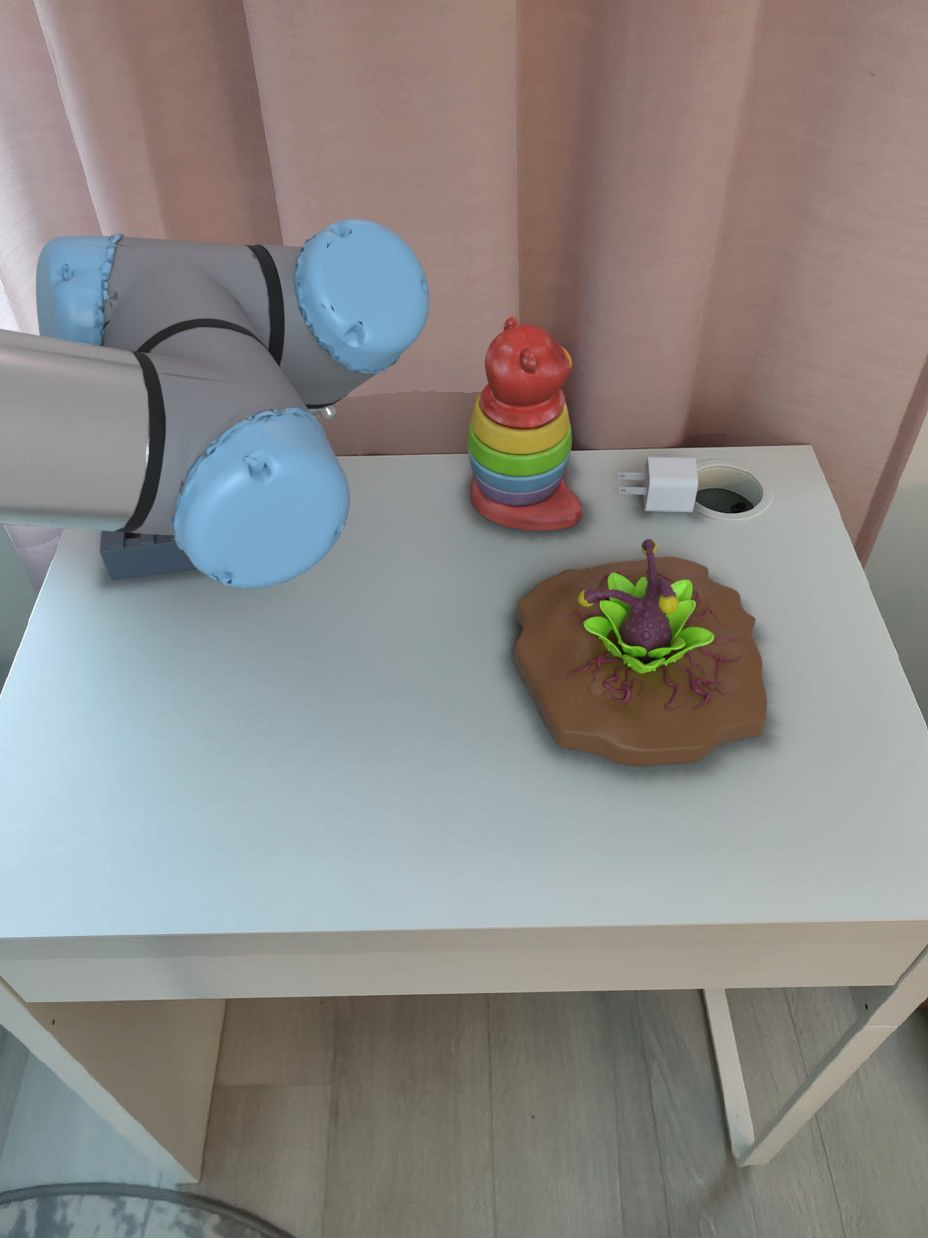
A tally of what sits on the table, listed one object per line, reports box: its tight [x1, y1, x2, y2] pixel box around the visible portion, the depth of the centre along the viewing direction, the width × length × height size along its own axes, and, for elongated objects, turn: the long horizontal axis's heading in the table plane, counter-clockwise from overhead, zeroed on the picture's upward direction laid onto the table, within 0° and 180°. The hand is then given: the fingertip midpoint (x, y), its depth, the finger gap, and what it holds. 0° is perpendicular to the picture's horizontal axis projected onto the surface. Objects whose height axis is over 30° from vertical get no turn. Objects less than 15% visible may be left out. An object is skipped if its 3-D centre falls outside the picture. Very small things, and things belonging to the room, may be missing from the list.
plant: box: [513, 538, 768, 767], centre depth 77 cm, size 20×20×11 cm
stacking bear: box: [467, 316, 583, 532], centre depth 88 cm, size 11×10×18 cm
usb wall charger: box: [616, 456, 699, 513], centre depth 92 cm, size 4×7×4 cm, turn 87°
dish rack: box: [99, 531, 198, 581], centre depth 91 cm, size 16×12×4 cm
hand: (195, 450), depth 84 cm, fingers open, 13 cm apart
